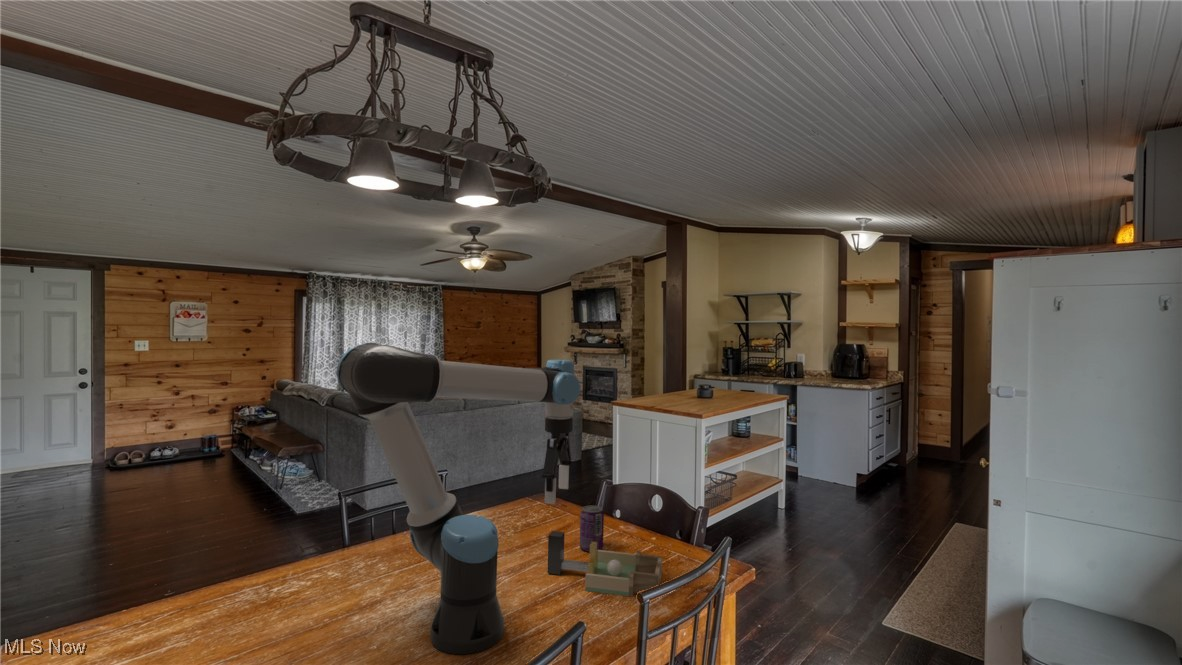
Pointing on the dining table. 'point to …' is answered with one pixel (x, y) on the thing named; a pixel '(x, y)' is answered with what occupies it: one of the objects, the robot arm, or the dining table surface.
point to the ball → (614, 568)
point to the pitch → (604, 580)
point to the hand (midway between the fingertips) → (557, 495)
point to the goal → (645, 573)
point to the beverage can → (591, 527)
